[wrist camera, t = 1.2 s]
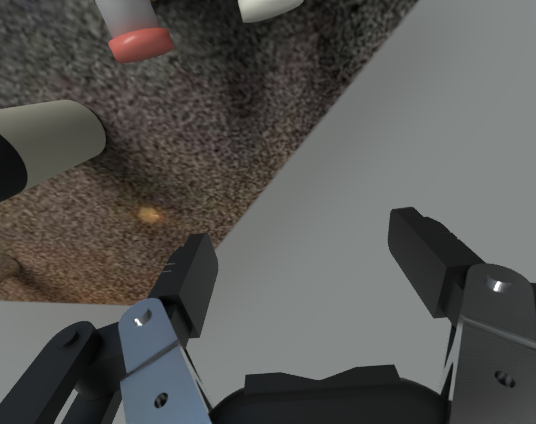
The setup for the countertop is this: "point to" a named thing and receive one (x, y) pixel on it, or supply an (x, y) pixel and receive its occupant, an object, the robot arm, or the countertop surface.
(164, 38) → the red button
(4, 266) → the beer glass
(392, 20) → the countertop surface
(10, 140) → the travel mug
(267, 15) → the ivory button
